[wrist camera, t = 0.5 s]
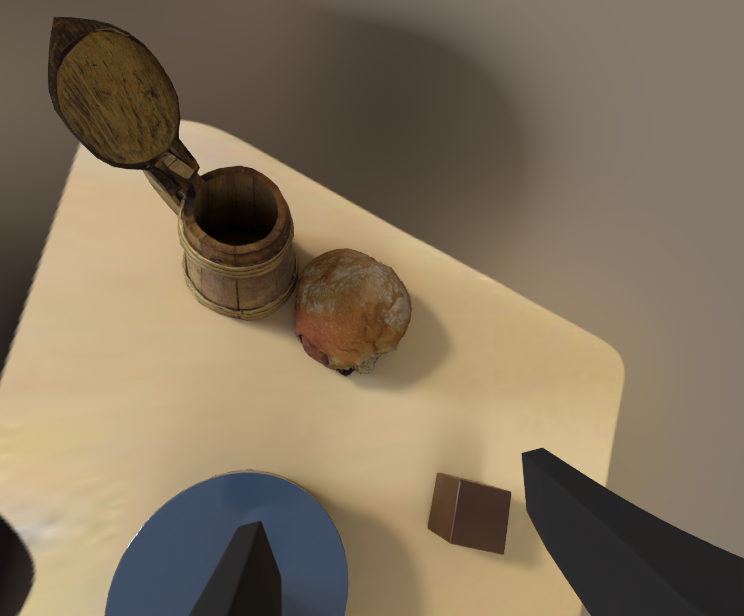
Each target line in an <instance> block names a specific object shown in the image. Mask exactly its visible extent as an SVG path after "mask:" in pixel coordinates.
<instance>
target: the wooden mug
mask: <svg viewBox="0 0 744 616" xmlns="http://www.w3.org/2000/svg"><path fill="white" fill-rule="evenodd" d="M48 62H49V63H48V85H49V93H50V96H51V99H52V103H53V106H54V109H55V111H56V112H57V114H58V115H59V116H60V118H61V119H62V121H63V122H64V123H65V125H66V126H67V128H68V129H69V131H70V132H71V133H72V134H73V135H74V136H75V137H76V138H77V139H78V140H79V141H80V142H81V143H82V144H83V145H84V146H85V147H86V148H87V149H88V150H89V151H90V152H91V153H92V154H93V155H94V156H95V157H96V158H98V159H100V160H101V161H103V162H105V163H107V164H109V165H111V166H113V167H118V168H124V169H137V170H143V172H144V174H145V176H146V177H147V179H148V180H149V182H150V183H151V185H152V186H153V188H154V189H155V190H156V191H157V193H158V194H159V195H160V196H161V198H162V199H163V200H164V201H165V202H166V203H167V205H168V206H169V207H170V208H171V209H172V210H173V211H174V212H175V214H176V215H177V216H178V234H179V239H180V244H181V246H182V247H183V249H184V251H183V259H182V267H183V271H184V275H185V279H186V283H187V286H188V287H189V289H190V290H191V292H192V293H193V295H194V296H195V298H196V299H197V300H198V302H199V303H201V304H202V305H204V306H206V307H208V308H209V309H211V310H213V311H216V312H217V313H219V314H222V315H226V316H230V317H234V318H239V319H244V320H252V319H257V318H263V317H266V316H267V315H269V314H271V313H272V312H274V311H276V310H277V309H278V308H280V307H281V306H282V305H283V304H284V303H285V302H286V301H287V300H288V299H289V297H290V296H291V294H292V293H293V291H294V289H295V286H296V283H297V279H298V267H299V265H298V261H297V257H296V254H295V250H294V247H293V244H292V240H293V237H294V226H293V220H292V217H291V213H290V210H289V206H288V204H287V202H286V201H285V199H284V197H283V195H282V194H281V192H280V190H279V188H278V187H277V185H276V184H274V183H273V182H272V181H271V180H270V179H269V178H268V177H266V176H265V175H263V174H262V173H260V172H258V171H256V170H255V169H253V168H248V167H243V166H233V167H226V168H219V169H216V170H213V171H211V172H208V173H206V174H204V175H202V176H199V174H198V173H197V172H198V170H199V168H200V167H199V165H198V163H197V161H196V160H195V158H194V157H193V156H192V155H191V153H190V152H189V151H188V150H187V148H186V147H185V146H184V144H183V143H182V142H181V141H180V139H179V125H180V111H179V102H178V96H177V94H176V91H175V89H174V87H173V84H172V82H171V81H170V79H169V77H168V76H167V74H166V72H165V70H164V69H163V67H162V66H161V64H160V63H159V62H158V60H157V59H156V57H155V56H154V55H153V54H152V53H151V51H150V50H149V49H147V47H146V46H145V45H144V44H143V43H142V42H140V41H139V40H138V39H136V38H135V37H134V36H132V35H131V34H130V33H128V32H126V31H124V30H122V29H120V28H117V27H115V26H113V25H111V24H108V23H104V22H100V21H96V20H89V19H80V18H72V17H54V18H53V25H52V31H51V38H50V47H49V61H48ZM182 193H183V194H184V195H183V194H182Z"/></svg>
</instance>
